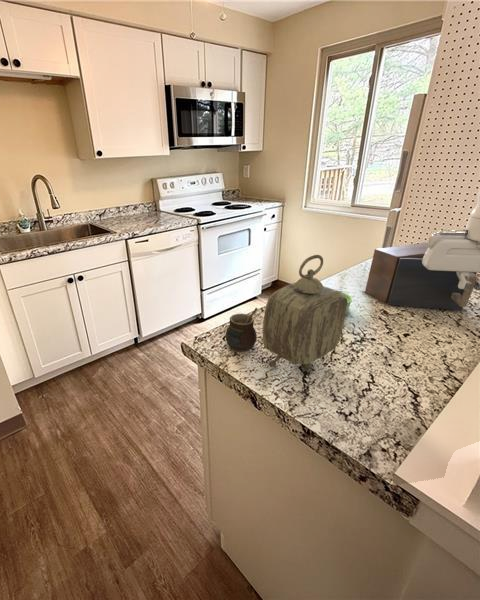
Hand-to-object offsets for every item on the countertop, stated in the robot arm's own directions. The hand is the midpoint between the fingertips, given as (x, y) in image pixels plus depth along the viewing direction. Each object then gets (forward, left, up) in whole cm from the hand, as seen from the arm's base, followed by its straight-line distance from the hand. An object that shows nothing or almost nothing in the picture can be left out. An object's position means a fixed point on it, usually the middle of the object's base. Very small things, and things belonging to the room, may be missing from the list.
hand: (470, 288), depth 72 cm
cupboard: (+4, -18, -10) cm, 21 cm away
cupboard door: (+3, -7, -10) cm, 12 cm away
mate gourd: (+52, +13, -10) cm, 55 cm away
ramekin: (+26, -7, -10) cm, 29 cm away
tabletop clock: (+40, +19, -10) cm, 46 cm away
